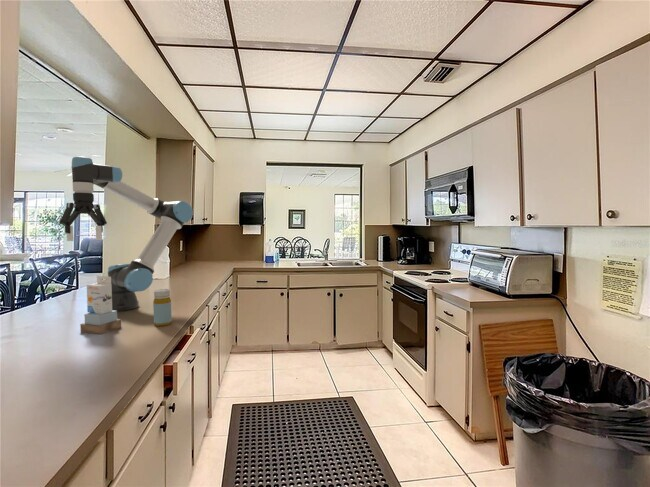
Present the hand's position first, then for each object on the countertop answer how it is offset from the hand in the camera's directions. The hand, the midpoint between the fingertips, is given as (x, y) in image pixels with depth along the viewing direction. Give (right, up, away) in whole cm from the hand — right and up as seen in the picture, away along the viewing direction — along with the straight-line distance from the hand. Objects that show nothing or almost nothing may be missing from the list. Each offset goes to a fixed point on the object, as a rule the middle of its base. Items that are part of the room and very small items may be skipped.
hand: (85, 240), depth 152 cm
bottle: (+36, -37, -3) cm, 52 cm away
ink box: (+14, -30, -11) cm, 35 cm away
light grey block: (+15, -34, -11) cm, 39 cm away
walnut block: (+14, -38, -11) cm, 42 cm away
